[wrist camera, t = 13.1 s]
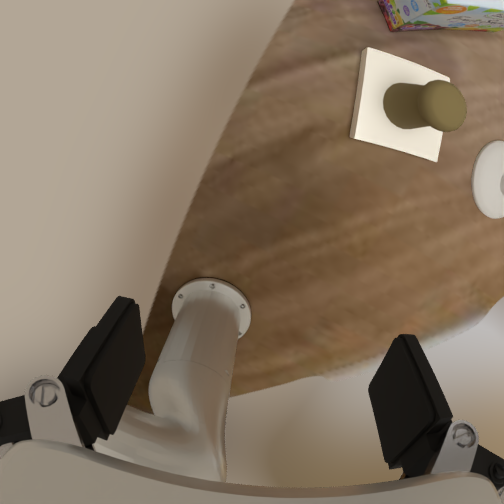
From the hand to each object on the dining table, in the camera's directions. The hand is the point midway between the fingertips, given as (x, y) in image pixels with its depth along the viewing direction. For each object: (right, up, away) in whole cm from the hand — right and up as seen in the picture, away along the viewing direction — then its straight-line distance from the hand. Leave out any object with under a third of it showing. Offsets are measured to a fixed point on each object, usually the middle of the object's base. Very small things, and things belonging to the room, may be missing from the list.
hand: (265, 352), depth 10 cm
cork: (+18, +21, +20) cm, 34 cm away
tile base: (+18, +22, +22) cm, 36 cm away
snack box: (+27, +37, +15) cm, 48 cm away
